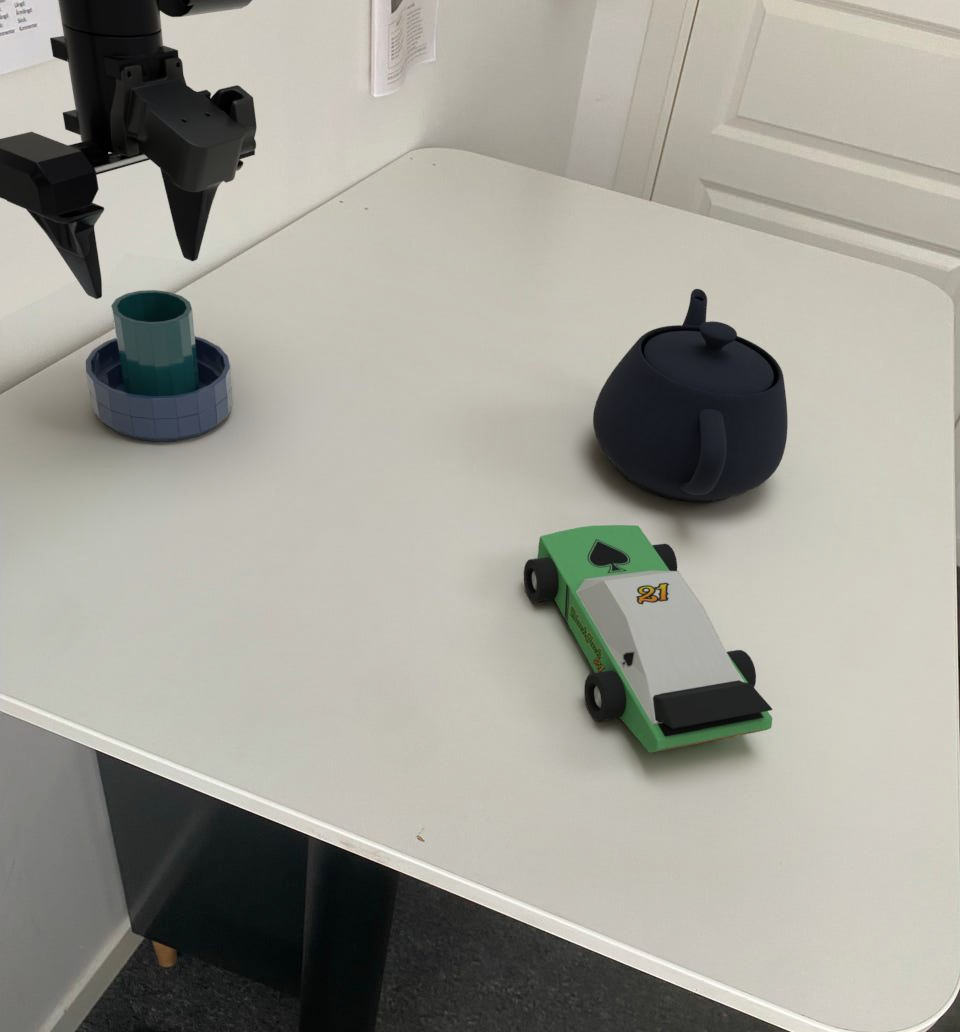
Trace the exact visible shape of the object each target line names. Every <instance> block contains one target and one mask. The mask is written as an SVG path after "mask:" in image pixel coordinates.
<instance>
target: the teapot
mask: <svg viewBox="0 0 960 1032" xmlns="http://www.w3.org/2000/svg"><path fill="white" fill-rule="evenodd" d="M688 305H689V306H688V308H687V312H686V315H685V318H684V320H683V323H682V324H675V325H666V326H660V327H657V328H654V329H651V330H649V331H647V332H645V333H644V334H643V335H641V336H640V337H639V338H638V339H637V340H636V341H635V342H634V344H633V345H632V346H631V347H630V349H629V350H628V351H627V352H626V353H625V355H623V357H622V358H621V359H620V361H619V362H618V363H617V364H616V366H615V367H614V368H613V370H612V371H611V373H610V375H609V376H608V377H607V379H606V381H604V384H603V386H602V388H601V390H600V391H599V394H598V396H597V399H596V402H595V405H594V409H593V415H592V416H593V417H592V422H593V430H594V435H595V438H596V440H597V443H598V445H599V447H600V448H601V450H602V451H603V453H604V455H605V456H606V457H607V458H608V460H609V461H610V462H611V463H612V464H613V465H614V466H615V467H616V469H617V470H618V471H619V473H621V474H622V475H623V476H624V477H625V478H626V479H628V480H629V481H631V482H632V483H633V484H635V485H637V486H638V487H640V488H642V489H644V490H646V491H648V492H651V493H653V494H656V495H658V496H662V497H664V498H669V499H672V500H677V501H684V502H690V503H691V502H692V503H711V502H719V501H723V500H726V499H729V498H732V497H735V496H739V495H742V494H744V493H748V492H749V491H752V490H754V489H755V488H758V487H759V486H761V485H762V484H764V483H765V482H766V481H767V480H768V479H770V477H771V476H772V475H774V473H775V472H776V471H777V469H778V467H779V466H780V464H781V462H782V459H783V457H784V454H785V450H786V445H787V439H788V424H789V422H788V403H787V393H786V385H785V378H784V373H783V370H782V368H781V366H780V364H779V362H778V361H777V360H776V359H775V358H774V357H773V356H772V354H770V353H769V352H768V351H766V350H765V349H763V347H761V346H759V345H758V344H756V343H754V342H752V341H750V340H748V339H745V338H743V337H741V336H738V333H737V331H736V329H735V328H733V327H732V326H731V325H729V324H727V323H725V322H721V321H720V322H719V321H713V320H711V321H710V320H709V321H707V312H708V311H707V308H708V296H707V294H706V293H705V291H704V290H702V289H700V288H695V289H693V290H692V291H691V293H690V298H689V304H688Z"/></svg>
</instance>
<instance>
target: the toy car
mask: <svg viewBox="0 0 960 1032" xmlns="http://www.w3.org/2000/svg"><path fill="white" fill-rule="evenodd" d="M538 540H539V541H538V548H537V549H538V550H537V558H531V559H527V561H525V563H524V567H523V583H524V589H525V593H526V595H527V597H528V598H529V600H530V601H531V602H533V603H536V602H543V601H551V600H553V601H555V604H556V605H557V607H558V609H559V611H560V612H561V614H562V616H563V618H564V619H565V621H566V623H567V625H568V627H569V629H570V630H571V632H572V635H573V636H574V638H575V639H576V642H577V643H578V645H579V648H580V649H581V650H582V652H583V654H584V656H585V658H586V660H587V661H588V663H589V665H590V666H591V669H592V670H593V673H591V672H590V673H589V674H588V675H587V677H586V679H585V681H584V687H583V688H584V689H583V690H584V701H585V705H586V707H587V710H588V713H589V714H590V716H591V717H592V718H593V719H594V720H596V722H604V721H609V720H615V719H620V720H621V721H622V722H623V723H624V724H625V726H626V727H627V728H628V729H629V731H630V732H631V733H632V734H633V735H634V737H636V738H637V740H638V741H639V743H641V745H642V746H643V747H644V748H645V749H646V750H647V752H648V753H650V754H651V753H657V752H661V751H666V750H673V749H676V748H677V749H678V748H682V747H687V746H692V745H697V744H702V743H707V742H712V741H717V740H723V739H729V738H733V737H738V736H739V737H740V736H743V735H750V734H755V733H760V732H765V731H767V730H770V729H772V726H773V717H772V715H771V713H770V712H769V711H773V708H772V707H771V705H770V704H769V703H768V702H767V701H766V699H764V697H763V696H762V695H761V694H760V693H759V692H758V690H757V689H756V683H757V672H756V667H755V663H754V662H753V660H752V658H751V656H750V655H749V654H748V653H747V652H746V651H744V650H742V649H735V650H728V651H727V650H726V648H725V646H724V644H723V642H722V640H721V639H720V637H719V635H718V633H717V631H716V629H715V627H714V625H713V623H712V621H711V619H710V616H709V615H708V613H707V611H706V609H705V607H704V605H703V604H702V603H701V601H700V600H699V598H698V597H697V596H696V594H695V593H694V591H693V590H692V588H691V587H690V585H689V584H688V583H687V580H686V579H684V577H683V576H682V574H681V573H680V571H679V570H678V562H677V561H678V560H677V555H676V553H675V551H674V549H673V547H671V545H669V544H667V543H657V544H652V543H651V542H650V540H649V539H648V537H647V536H646V535H645V533H644V531H642V529H641V527H640V525H634V524H633V525H625V524H624V525H623V524H617V525H616V524H611V525H610V524H607V525H606V524H605V525H602V524H601V525H588V526H587V525H585V526H579V527H574V528H569V529H564V530H560V531H557V532H551V533H548V534H544V535H540V536H539V539H538Z"/></svg>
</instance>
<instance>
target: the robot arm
mask: <svg viewBox="0 0 960 1032" xmlns="http://www.w3.org/2000/svg"><path fill="white" fill-rule="evenodd" d="M252 1H253V0H58V7H59V13H60V19H61V26H62V27H61V28H62V33H63V35H61V36H54V37H50V38H49V40H50V47H51V54H52V58H55V59H59V60H61V61H64V62H66V63H68V70H69V71H68V72H69V75H70V77H69V78H70V83H71V88H72V89H71V90H72V95H73V102H74V109H72V110H67V111H63V112H62V118H63V123H64V128H65V131H68V132H70V133H74V134H77V135H78V136H80V142H77V143H72V144H66V143H63V142H60V141H58V140H55V139H52V138H50V137H48V136H45V135H41V134H39V133H36V132H34V131H27V132H24V133H20V134H19V133H18V134H15V135H11V136H5V137H3V138H0V199H2V200H5V201H7V202H8V203H9V204H10V203H11V204H13V205H14V206H18V207H20V208H23V209H25V210H26V211H27V213H28V214H29V215H30V216H31V217H32V219H33V220H34V221H35V222H36V223H37V225H39V227H40V228H41V229H42V231H43V232H44V233H45V234H46V236H47V238H48V239H49V240H50V242H51V243H52V244H53V246H54V247H55V249H56V250H57V251H58V253H59V255H60V256H61V259H63V260H64V262H65V264H66V265H67V267H68V268H69V270H70V271H71V273H72V275H73V276H74V277H75V279H76V280H77V282H78V283H79V285H80V286H81V288H82V289H83V292H84V293H86V295H87V296H89V297H91V298H93V299H95V300H99V299H101V298H102V297H103V282H102V281H103V280H102V272H101V265H100V259H99V258H100V257H99V251H98V247H97V245H98V244H97V239H96V231H95V225H96V223H97V222H98V220H99V219H100V218H101V216H102V214H103V213H104V211H105V207H104V206H102V205H99V204H97V203H94V200H95V198H96V196H97V193H98V192H99V190H100V189H99V182H98V175H101V174H104V173H108V172H112V171H115V170H118V169H119V170H120V169H122V168H126V167H129V166H132V165H137V164H140V163H143V162H148V161H151V162H152V163H153V164H154V165H156V166H157V167H158V168H159V170H160V174H161V178H162V181H163V185H164V190H165V194H166V198H167V203H168V207H169V210H170V215H171V219H172V223H173V224H172V225H173V227H174V231H175V236H176V239H177V242H178V245H179V249H180V251H181V254H182V256H183V258H184V259H185V260H188V261H190V262H195V261H197V260H198V258H199V255H200V252H201V247H202V243H203V240H204V235H205V232H206V227H207V225H208V220H209V216H210V213H211V209H212V206H213V202H214V200H215V196H216V194H217V191H218V189H219V186H220V185H221V184H222V183H223V182H224V183H230V182H232V181H234V179H235V178H236V172H237V171H239V170H241V169H242V168H243V166H244V161H243V160H242V159H246V158H248V157H252V156H255V155H256V148H257V142H256V139H255V137H256V133H257V118H256V110H255V109H256V108H255V102H254V101H255V100H254V97H253V96H252V95H251V94H250V93H248V92H247V91H246V90H245V89H244V88H242V87H241V86H240V85H238V84H236V85H232V86H228V87H223V88H219V89H218V90H217V91H215V92H214V94H213V95H212V92H211V91H209V90H208V89H204V90H200V91H196V90H194V89H193V88H191V87H190V86H189V85H188V84H187V81H186V78H185V76H184V65H183V64H184V63H183V60H182V59H181V58H180V57H179V50H178V49H175V48H172V47H169V46H166V45H164V38H163V31H162V20H161V13H163V14H164V15H166V16H168V17H170V18H183V17H189V16H190V17H191V16H196V15H197V16H198V15H205V14H211V13H212V14H213V13H217V12H225V11H226V12H227V11H231V10H239V9H243V8H245V7H247V6H249V4H251V3H252Z"/></svg>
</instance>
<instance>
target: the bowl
mask: <svg viewBox="0 0 960 1032" xmlns="http://www.w3.org/2000/svg"><path fill="white" fill-rule="evenodd" d="M195 345H196V356H197V366H198V377H199V387H200V389H198V390H196V391H193V392H189V393H184V394H179V395H174V396H144V395H136V394H129V393H126V392H125V391H124V384H123V378H122V371H121V365H120V358H119V352H118V345H117V339H116V337H115V338H112V339H108V340H106V341H104V342H103V343H101V344H100V345H98V346H96V347H94V348H93V349H92V351H90V353H89V355H88V356H87V357H86V359H85V375H86V380H87V385H88V391H89V396H90V402H91V406H92V407H91V408H92V411H93V413H94V414H95V416H96V417H97V418H98V419H99V421H100V422H101V423H103V424H104V425H106V426H108V427H110V428H111V429H112V430H113V431H115V432H117V433H119V434H121V435H123V436H126V437H129V438H133V439H136V440H141V441H147V442H148V441H149V442H175V441H181V440H182V441H183V440H188V439H191V438H194V437H198V436H201V435H203V434H206V433H207V432H210V431H211V430H213V429H214V428H216V427H217V426H218V425H220V423H221V422H223V421H224V420H225V419H226V418H227V417H228V416H229V413H230V411H231V409H232V407H233V404H234V402H233V386H232V372H231V363H230V358H229V356H228V355H227V353H226V352H225V351H224V350H223V349H222V347H220V346H219V345H217V344H215V343H213V342H211V341H210V340H208V339H205V338H204V337H199V336H196V335H195Z"/></svg>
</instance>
